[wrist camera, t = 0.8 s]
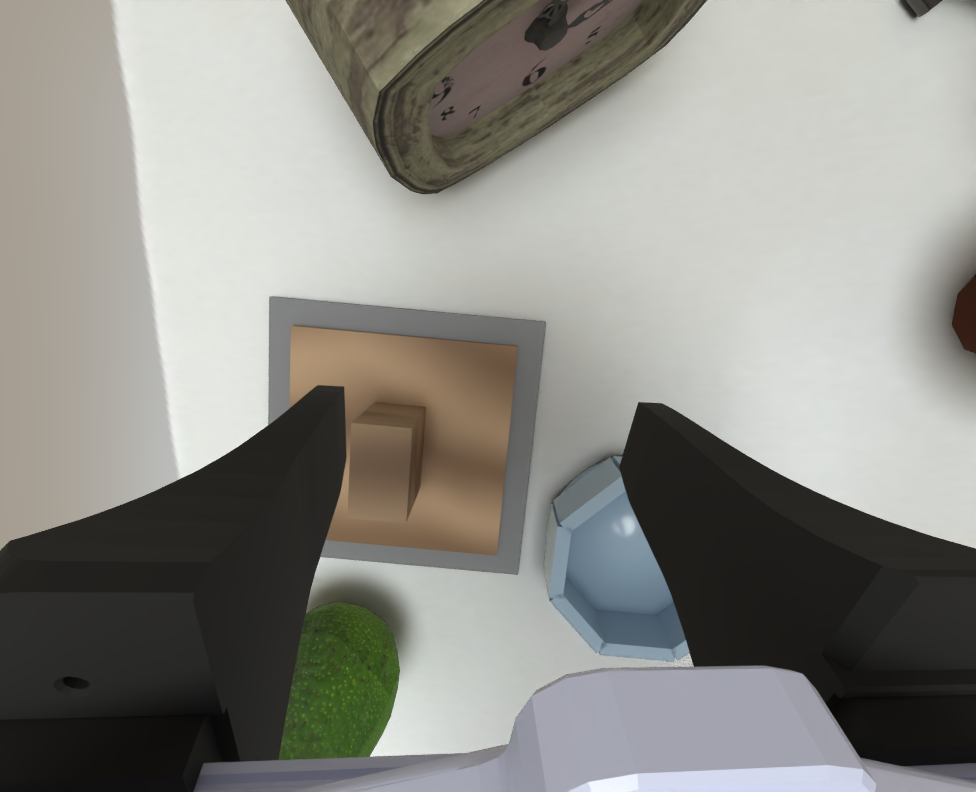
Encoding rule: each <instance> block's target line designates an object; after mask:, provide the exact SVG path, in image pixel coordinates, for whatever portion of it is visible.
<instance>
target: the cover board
mask: <svg viewBox="0 0 976 792" xmlns="http://www.w3.org/2000/svg"><path fill="white" fill-rule="evenodd" d="M517 350H518V346H516V345H505V344H494V343H483V342H472V341H461V340H450V339H439V338H428V337H418V336H407V335H396V334H385V333H374V332H363V331H352V330H341V329H330V328H319V327H308V326H297V325H293V326H291V350H290V407H292V406H293V405H294V404H295V403H296V402H298V401H299V400H300V399H301V398H302V397H303V396H305V395H306V394H307V393H308V392H310V391H311V390H312V389H313V388H314V387H316V386H317V385H326V386H344V392H345V422H346V453H347V458H346V464H345V470H344V476H343V482H342V487H341V492H340V496H339V499H338V502H337V506H336V509H335V512H334V515H333V518H332V521H331V525H330V528H329V531H328V534H327V537H326V540H330V541H341V542H352V543H363V544H374V545H385V546H396V547H407V548H418V549H429V550H440V551H451V552H462V553H473V554H484V555H495V556H497V548H498V538H499V528H500V518H501V508H502V498H503V489H504V479H505V469H506V459H507V449H508V439H509V429H510V419H511V409H512V400H513V390H514V380H515V370H516V360H517Z"/></svg>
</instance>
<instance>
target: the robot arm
mask: <svg viewBox="0 0 976 792" xmlns="http://www.w3.org/2000/svg"><path fill="white" fill-rule="evenodd" d="M346 458H347V453H346V422H345V392H344V386H326V385H317V386H316V387H314V388H313V389H312V390H311V391H310V392H308V393H307V394H306V395H305V396H303V397H302V398H301V399H300V400H299V401H298V402H296V403H295V404H294V405H293V406H292V407H290V408H289V409H288V410H287V411H286V412H284V413H283V414H282V415H281V416H279V417H278V418H277V419H276V420H274V421H273V422H272V423H271V424H269V425H268V426H267V427H265V428H264V429H263V430H261V431H260V432H258V433H257V434H256V435H254V436H253V437H251V438H250V439H249V440H247V441H246V442H244V443H243V444H241V445H240V446H239V447H237V448H235V449H234V450H232V451H231V452H229V453H227V454H226V455H224V456H223V457H221V458H219V459H217V460H216V461H214V462H212V463H210V464H209V465H207V466H205V467H203V468H202V469H200V470H198V471H196V472H194V473H192V474H190V475H188V476H186V477H183V478H181V479H179V480H177V481H175V482H173V483H171V484H169V485H167V486H165V487H162V488H160V489H158V490H156V491H154V492H152V493H149V494H147V495H145V496H142V497H140V498H138V499H135V500H132V501H130V502H127V503H125V504H123V505H120V506H117V507H115V508H112V509H109V510H106V511H104V512H101V513H98V514H95V515H93V516H90V517H87V518H84V519H81V520H78V521H75V522H71V523H68V524H65V525H61V526H58V527H55V528H52V529H48V530H45V531H42V532H39V533H35V534H32V535H29V536H26V537H22V538H18V539H15V540H11V541H9V542H8V543H7V544H6V545H5V546H4V548H2V549H1V551H0V792H976V549H975V548H971V547H968V546H964V545H961V544H957V543H954V542H950V541H947V540H943V539H940V538H936V537H933V536H930V535H927V534H923V533H920V532H917V531H915V530H912V529H909V528H906V527H903V526H900V525H897V524H894V523H891V522H888V521H885V520H883V519H880V518H877V517H875V516H872V515H869V514H867V513H864V512H862V511H859V510H857V509H854V508H852V507H849V506H847V505H845V504H842V503H840V502H837V501H835V500H832V499H830V498H828V497H826V496H823V495H821V494H819V493H817V492H815V491H812V490H810V489H808V488H806V487H804V486H802V485H800V484H798V483H796V482H794V481H792V480H790V479H788V478H786V477H784V476H782V475H780V474H778V473H777V472H775V471H773V470H771V469H769V468H768V467H766V466H764V465H762V464H761V463H759V462H757V461H755V460H754V459H752V458H750V457H748V456H747V455H745V454H743V453H742V452H740V451H739V450H737V449H735V448H734V447H732V446H730V445H729V444H727V443H726V442H724V441H722V440H721V439H719V438H718V437H716V436H715V435H713V434H712V433H710V432H708V431H707V430H705V429H704V428H702V427H701V426H699V425H698V424H696V423H695V422H693V421H691V420H690V419H688V418H687V417H685V416H683V415H682V414H680V413H679V412H677V411H675V410H673V409H672V408H670V407H668V406H666V405H664V404H662V403H643V402H638V406H637V409H636V412H635V416H634V419H633V422H632V426H631V429H630V433H629V436H628V439H627V443H626V446H625V449H624V453H623V456H622V459H621V463H620V466H619V468H620V472H621V476H622V480H623V483H624V487H625V490H626V493H627V497H628V500H629V502H630V505H631V507H632V509H633V512H634V514H635V516H636V518H637V520H638V523H639V525H640V527H641V529H642V531H643V533H644V535H645V538H646V540H647V542H648V544H649V546H650V548H651V550H652V553H653V555H654V557H655V559H656V561H657V563H658V565H659V568H660V570H661V572H662V574H663V576H664V579H665V581H666V584H667V586H668V588H669V591H670V593H671V596H672V599H673V602H674V605H675V608H676V611H677V614H678V617H679V620H680V623H681V626H682V629H683V632H684V635H685V639H686V642H687V645H688V649H689V652H690V655H691V658H692V662H693V665H694V667H649V668H602V669H596V670H590V671H584V672H579V673H573V674H567V675H565V676H563V677H561V678H559V679H557V680H555V681H553V682H551V683H550V684H548V685H546V686H544V687H542V688H540V689H538V690H536V692H535V693H534V694H533V695H532V696H531V698H530V699H529V701H528V702H527V703H526V705H525V706H524V708H523V709H522V710H521V712H520V713H519V714H518V716H517V717H516V719H515V723H514V727H513V731H512V735H511V739H510V742H509V744H507V745H502V746H497V747H492V748H488V749H483V750H479V751H474V752H470V753H458V754H432V755H405V756H378V757H351V758H325V759H298V760H279V754H280V748H281V742H282V736H283V730H284V725H285V719H286V713H287V708H288V702H289V697H290V691H291V685H292V680H293V674H294V669H295V664H296V659H297V654H298V648H299V643H300V638H301V633H302V628H303V623H304V618H305V613H306V608H307V604H308V599H309V594H310V589H311V586H312V582H313V578H314V575H315V571H316V568H317V565H318V562H319V559H320V556H321V553H322V549H323V546H324V543H325V540H326V537H327V534H328V531H329V528H330V525H331V521H332V518H333V515H334V512H335V509H336V506H337V502H338V499H339V496H340V492H341V487H342V482H343V476H344V470H345V464H346Z"/></svg>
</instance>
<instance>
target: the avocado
mask: <svg viewBox="0 0 976 792" xmlns="http://www.w3.org/2000/svg"><path fill="white" fill-rule="evenodd" d="M399 673H400V668H399V661H398V653H397V648H396V645H395V641H394V637H393V634H392V632H391V631H390V629H389V628H388V626H387V625H386V624H385V623H384V621H383V620H382V619H381V618H380V617H378V616H377V615H376V614H374V613H373V612H371V611H369V610H368V609H366V608H364V607H363V606H359V605H353V604H348V603H341V602H336V603H332V604H328V605H324V606H319V607H317V608H315V609H313V610H312V611H310V612H308V613H307V614H305V618H304V623H303V628H302V633H301V638H300V643H299V648H298V654H297V659H296V664H295V669H294V674H293V680H292V685H291V691H290V697H289V702H288V708H287V713H286V719H285V725H284V730H283V736H282V742H281V748H280V754H279V760H298V759H325V758H351V757H370V755H371V753H372V751H373V750H374V748H375V746H376V745H377V743H378V741H379V739H380V738H381V736H382V734H383V732H384V730H385V727H386V725H387V723H388V721H389V719H390V717H391V713H392V709H393V705H394V701H395V697H396V693H397V689H398V681H399Z"/></svg>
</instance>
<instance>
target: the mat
mask: <svg viewBox="0 0 976 792" xmlns="http://www.w3.org/2000/svg"><path fill="white" fill-rule="evenodd" d="M293 325H297V326H308V327H319V328H330V329H341V330H352V331H363V332H374V333H385V334H396V335H407V336H418V337H428V338H439V339H450V340H461V341H472V342H483V343H494V344H505V345H516V346H518V350H517V360H516V370H515V380H514V390H513V400H512V409H511V419H510V429H509V439H508V449H507V459H506V469H505V479H504V489H503V498H502V508H501V518H500V528H499V538H498V548H497V556H495V555H484V554H473V553H462V552H451V551H440V550H429V549H418V548H407V547H396V546H385V545H374V544H363V543H352V542H341V541H330V540H325V543H324V546H323V549H322V553H321V556H320V557H328V558H339V559H350V560H361V561H372V562H383V563H394V564H405V565H416V566H427V567H438V568H449V569H460V570H471V571H482V572H493V573H504V574H515V575H518V570H519V561H520V552H521V543H522V534H523V525H524V516H525V507H526V498H527V489H528V480H529V471H530V462H531V453H532V443H533V434H534V425H535V416H536V407H537V398H538V389H539V380H540V371H541V362H542V353H543V344H544V335H545V326H546V322H542V321H531V320H521V319H510V318H499V317H488V316H477V315H466V314H455V313H444V312H433V311H422V310H411V309H401V308H390V307H379V306H368V305H357V304H346V303H335V302H324V301H313V300H302V299H291V298H281V297H269V416H268V425H269V424H271V423H272V422H273V421H274V420H276V419H277V418H278V417H279V416H281V415H282V414H283V413H284V412H286V411H287V410H288V409H289V408H290V350H291V326H293Z"/></svg>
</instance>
